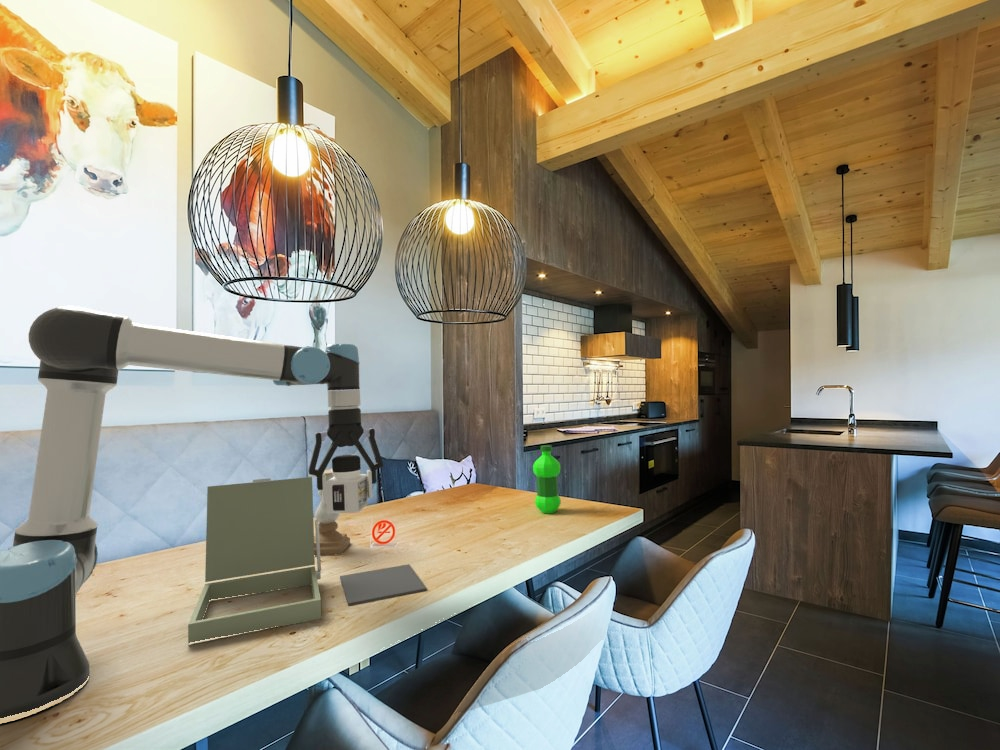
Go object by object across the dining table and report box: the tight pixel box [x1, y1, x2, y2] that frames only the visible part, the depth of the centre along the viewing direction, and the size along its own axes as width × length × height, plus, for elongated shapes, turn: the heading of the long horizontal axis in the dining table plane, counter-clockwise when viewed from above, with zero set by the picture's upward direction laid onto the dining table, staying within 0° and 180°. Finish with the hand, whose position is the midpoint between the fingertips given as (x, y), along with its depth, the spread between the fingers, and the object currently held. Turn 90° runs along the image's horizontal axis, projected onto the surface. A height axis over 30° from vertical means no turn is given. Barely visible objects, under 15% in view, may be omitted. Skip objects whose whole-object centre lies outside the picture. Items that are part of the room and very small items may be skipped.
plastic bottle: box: [532, 444, 562, 514], centre depth 188 cm, size 10×10×25 cm
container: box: [326, 454, 369, 514], centre depth 119 cm, size 8×8×13 cm
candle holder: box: [308, 467, 351, 556], centre depth 150 cm, size 11×11×24 cm
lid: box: [204, 476, 316, 583], centre depth 123 cm, size 23×24×2 cm
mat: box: [339, 563, 428, 606], centre depth 122 cm, size 18×18×1 cm
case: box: [187, 519, 322, 644], centre depth 111 cm, size 25×25×15 cm
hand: (347, 500), depth 119 cm, fingers closed on container, 10 cm apart
